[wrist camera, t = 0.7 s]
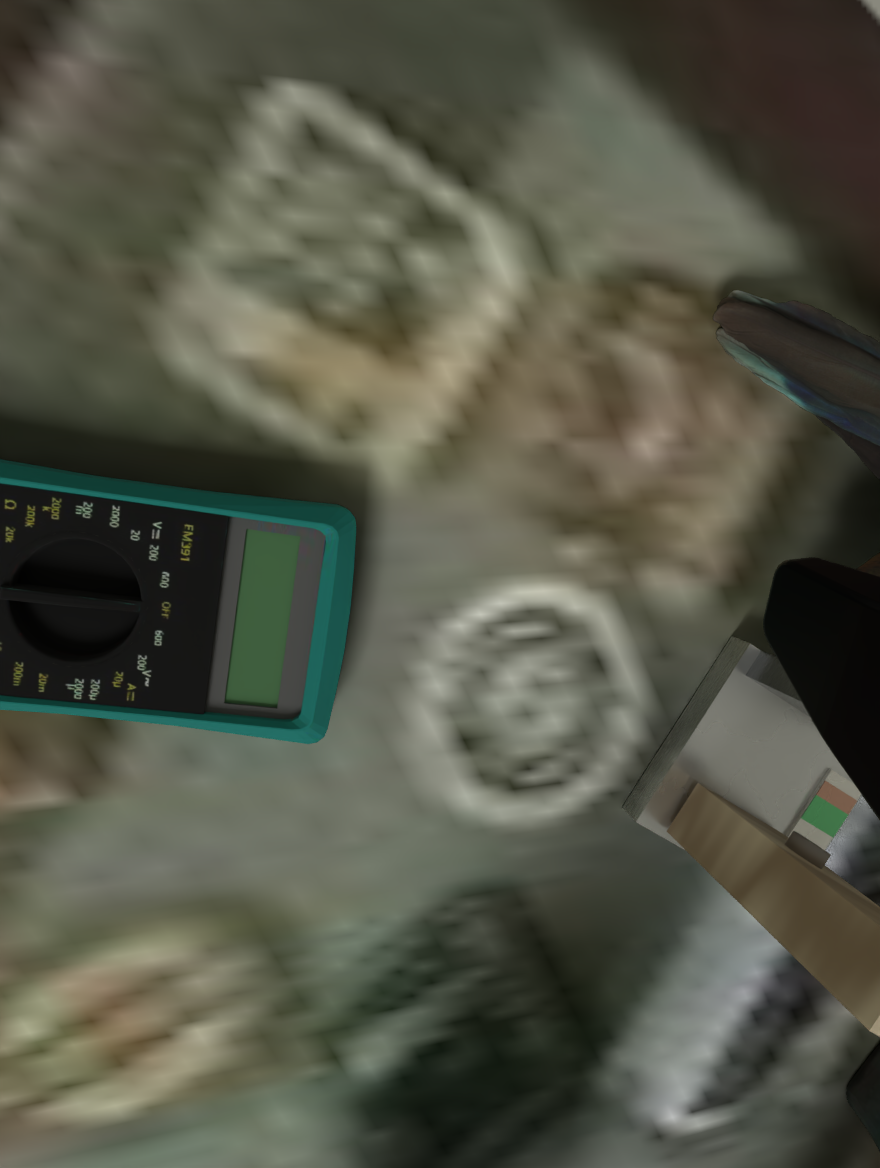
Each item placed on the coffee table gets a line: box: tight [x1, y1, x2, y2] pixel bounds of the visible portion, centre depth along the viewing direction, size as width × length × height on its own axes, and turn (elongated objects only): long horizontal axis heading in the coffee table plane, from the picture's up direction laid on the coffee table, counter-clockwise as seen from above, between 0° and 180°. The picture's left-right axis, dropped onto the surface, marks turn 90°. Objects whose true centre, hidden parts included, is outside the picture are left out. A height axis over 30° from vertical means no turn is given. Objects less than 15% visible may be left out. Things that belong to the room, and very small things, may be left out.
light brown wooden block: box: [667, 783, 880, 1036], centre depth 24 cm, size 2×6×10 cm, turn 57°
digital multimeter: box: [0, 459, 356, 744], centre depth 24 cm, size 7×15×3 cm, turn 81°
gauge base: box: [622, 636, 862, 850], centre depth 26 cm, size 7×7×8 cm
